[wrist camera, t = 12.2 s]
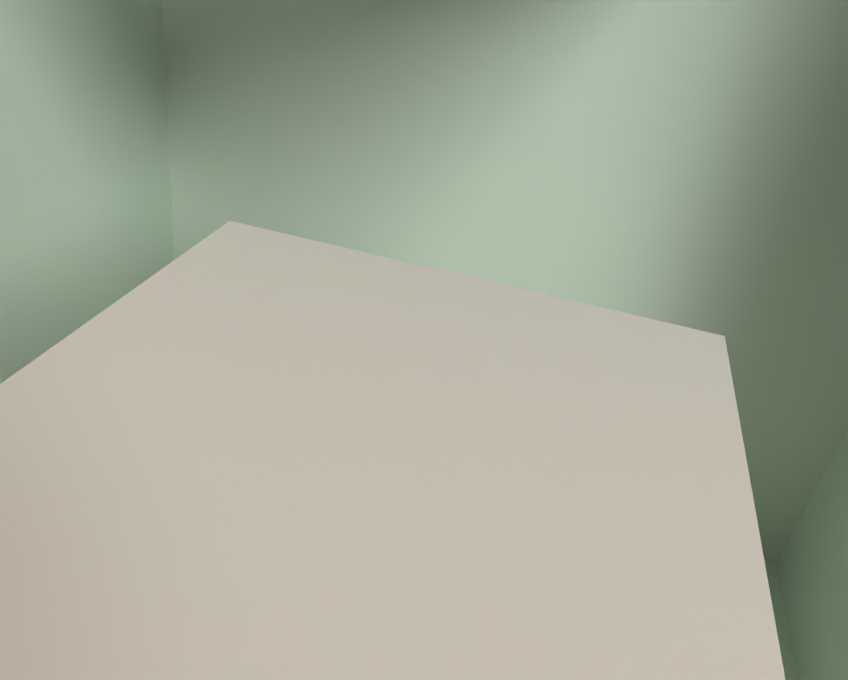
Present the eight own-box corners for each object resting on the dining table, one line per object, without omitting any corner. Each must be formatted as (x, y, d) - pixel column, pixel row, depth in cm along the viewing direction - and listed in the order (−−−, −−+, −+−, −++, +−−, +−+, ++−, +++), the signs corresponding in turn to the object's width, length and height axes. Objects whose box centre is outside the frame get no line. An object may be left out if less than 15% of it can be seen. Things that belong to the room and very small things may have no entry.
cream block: (593, 671, 10) (547, 1268, 5) (232, 558, 10) (-60, 1003, 6) (725, 336, 7) (839, 978, 3) (230, 220, 8) (-278, 580, 4)
